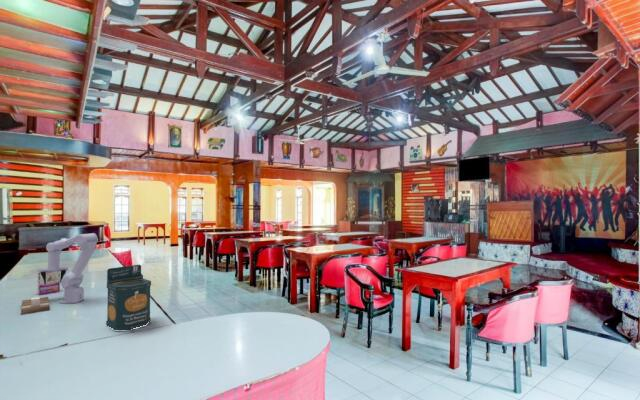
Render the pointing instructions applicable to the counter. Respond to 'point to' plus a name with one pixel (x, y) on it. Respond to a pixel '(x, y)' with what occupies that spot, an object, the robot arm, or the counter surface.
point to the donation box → (127, 298)
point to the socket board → (28, 309)
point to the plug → (35, 301)
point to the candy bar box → (49, 283)
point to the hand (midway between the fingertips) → (52, 283)
